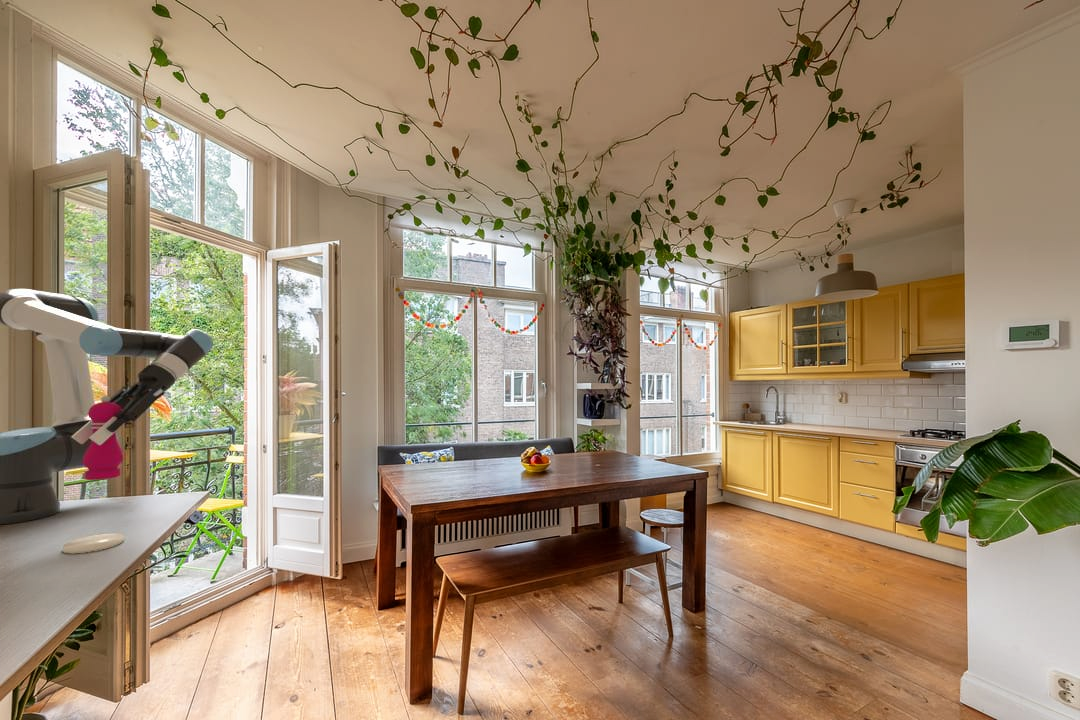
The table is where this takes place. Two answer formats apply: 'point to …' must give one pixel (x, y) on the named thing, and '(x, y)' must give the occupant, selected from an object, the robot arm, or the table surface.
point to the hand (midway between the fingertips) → (85, 440)
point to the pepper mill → (103, 444)
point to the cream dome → (93, 543)
